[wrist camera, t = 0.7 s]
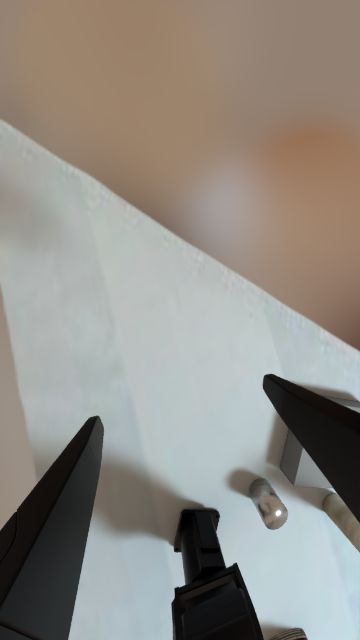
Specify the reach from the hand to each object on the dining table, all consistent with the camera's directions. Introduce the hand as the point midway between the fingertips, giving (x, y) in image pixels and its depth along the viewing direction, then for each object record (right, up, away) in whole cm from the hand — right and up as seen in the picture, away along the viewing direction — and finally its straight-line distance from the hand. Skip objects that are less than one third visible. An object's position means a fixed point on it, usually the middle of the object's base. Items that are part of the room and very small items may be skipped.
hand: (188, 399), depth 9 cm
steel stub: (+13, -25, +20) cm, 35 cm away
